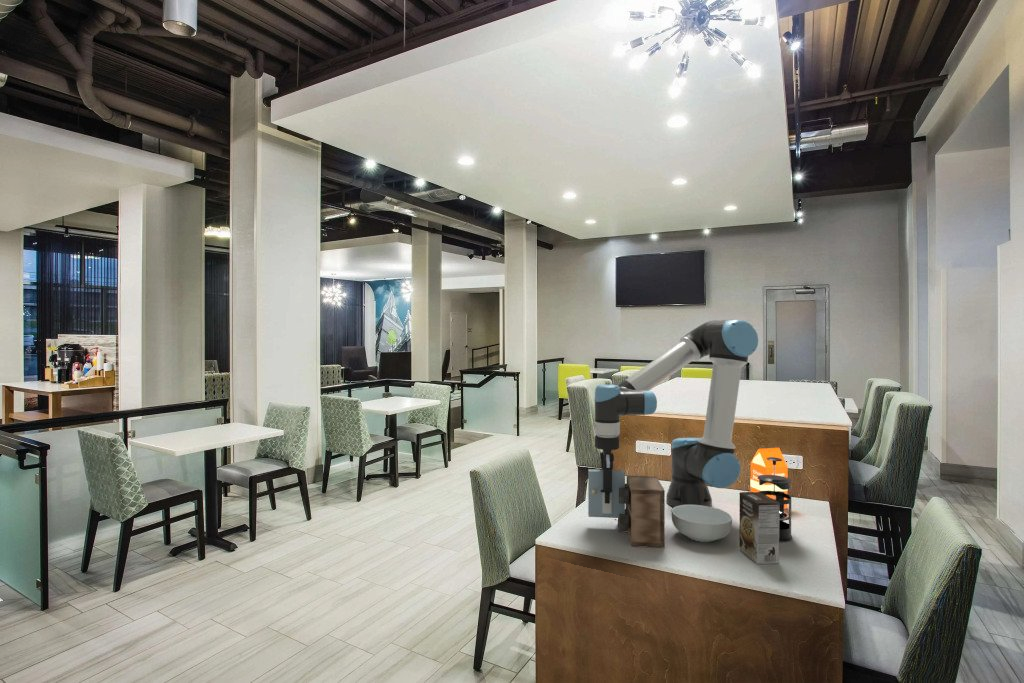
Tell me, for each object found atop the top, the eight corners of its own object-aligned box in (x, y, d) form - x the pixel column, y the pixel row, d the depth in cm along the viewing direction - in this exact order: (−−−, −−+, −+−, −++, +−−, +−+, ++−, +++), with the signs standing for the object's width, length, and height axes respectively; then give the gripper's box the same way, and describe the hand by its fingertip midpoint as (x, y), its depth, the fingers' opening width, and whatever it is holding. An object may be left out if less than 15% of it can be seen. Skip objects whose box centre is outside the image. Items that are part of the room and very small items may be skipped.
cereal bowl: (733, 552, 140) (733, 527, 140) (669, 544, 146) (669, 519, 146) (730, 530, 156) (730, 507, 156) (672, 523, 162) (673, 501, 162)
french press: (785, 545, 145) (786, 464, 144) (750, 536, 151) (751, 458, 151) (797, 533, 153) (798, 456, 153) (764, 525, 160) (764, 451, 159)
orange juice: (787, 508, 175) (788, 450, 175) (765, 510, 173) (766, 451, 173) (771, 501, 183) (771, 445, 183) (749, 503, 181) (750, 446, 181)
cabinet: (655, 526, 160) (655, 474, 159) (664, 547, 143) (664, 490, 143) (617, 524, 161) (617, 473, 161) (622, 545, 145) (622, 489, 145)
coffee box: (738, 549, 142) (738, 491, 142) (760, 549, 142) (760, 491, 142) (756, 564, 133) (756, 502, 133) (780, 563, 133) (780, 501, 133)
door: (624, 515, 159) (624, 470, 159) (625, 519, 155) (625, 473, 155) (588, 513, 160) (588, 469, 160) (588, 518, 157) (588, 472, 156)
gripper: (593, 430, 166) (593, 502, 167) (595, 440, 151) (595, 519, 151) (617, 430, 165) (616, 503, 166) (621, 440, 150) (621, 520, 150)
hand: (606, 511), depth 158 cm, fingers closed on door, 2 cm apart
